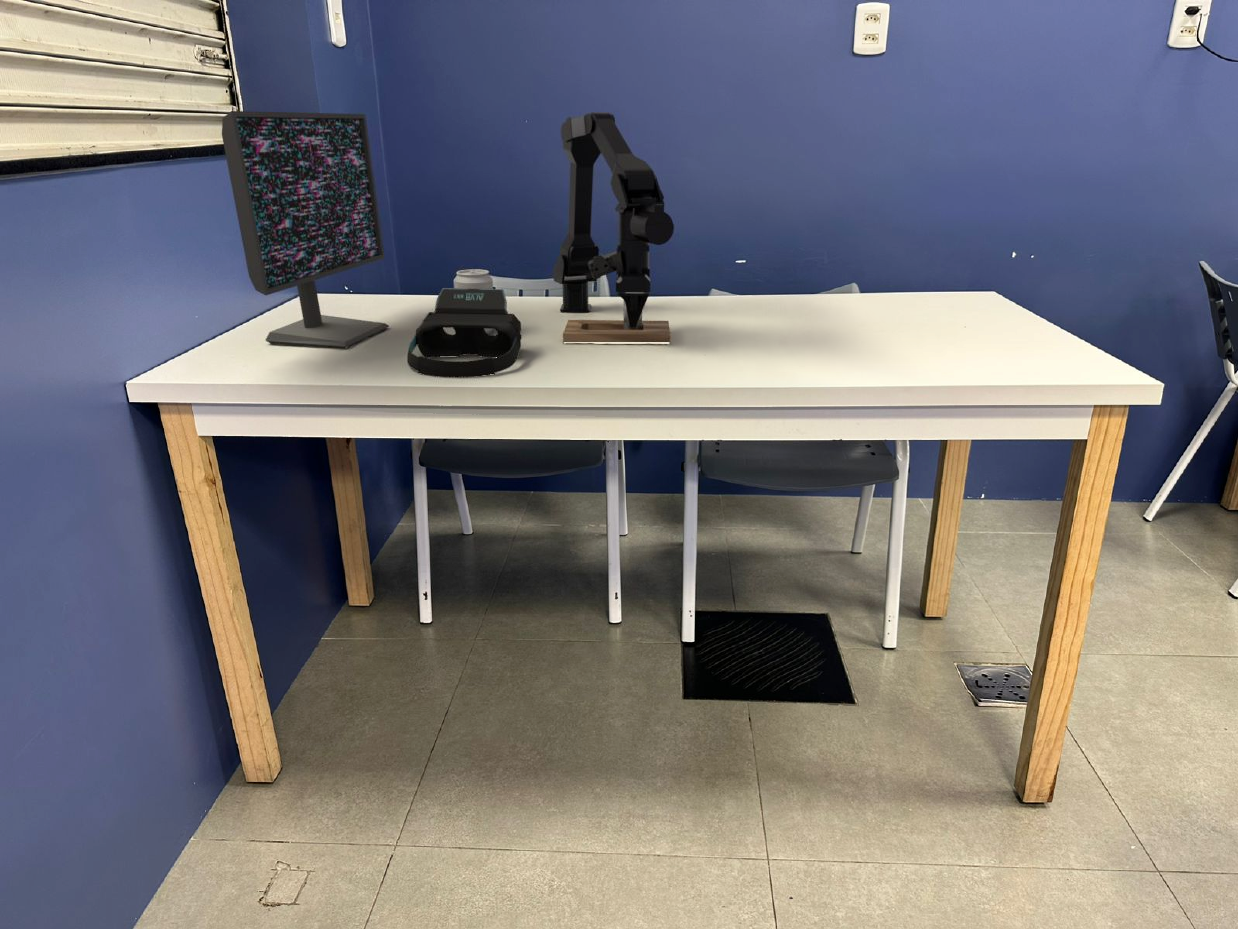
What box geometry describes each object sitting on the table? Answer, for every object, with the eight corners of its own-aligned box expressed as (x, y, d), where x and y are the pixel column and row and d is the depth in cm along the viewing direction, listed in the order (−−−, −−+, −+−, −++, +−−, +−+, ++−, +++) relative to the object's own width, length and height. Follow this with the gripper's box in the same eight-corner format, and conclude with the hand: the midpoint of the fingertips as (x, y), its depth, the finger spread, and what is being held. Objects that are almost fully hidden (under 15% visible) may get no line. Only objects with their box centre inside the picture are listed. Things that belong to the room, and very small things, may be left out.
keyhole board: (568, 329, 172) (568, 319, 171) (668, 330, 171) (668, 320, 171) (563, 343, 161) (562, 333, 160) (670, 344, 160) (670, 334, 160)
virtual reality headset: (527, 340, 159) (524, 289, 154) (511, 393, 141) (508, 336, 136) (427, 338, 160) (421, 287, 154) (398, 390, 141) (391, 333, 136)
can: (453, 336, 166) (449, 273, 162) (461, 327, 173) (457, 267, 169) (491, 336, 166) (488, 274, 162) (498, 328, 173) (495, 267, 169)
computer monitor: (309, 367, 144) (274, 110, 130) (222, 362, 147) (179, 110, 133) (416, 315, 184) (399, 114, 169) (347, 312, 187) (324, 113, 172)
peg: (623, 335, 168) (623, 294, 165) (642, 335, 168) (642, 294, 165) (623, 339, 164) (623, 297, 162) (641, 339, 164) (642, 297, 161)
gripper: (593, 232, 168) (593, 311, 174) (587, 244, 151) (588, 332, 156) (650, 232, 168) (648, 312, 174) (651, 245, 150) (649, 333, 156)
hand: (633, 321), depth 165 cm, fingers open, 9 cm apart
